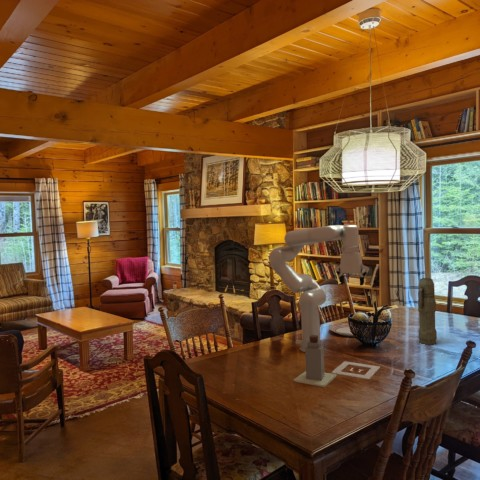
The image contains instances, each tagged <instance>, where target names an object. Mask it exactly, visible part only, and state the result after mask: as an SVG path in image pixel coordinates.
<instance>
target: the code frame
mask: <svg viewBox="0 0 480 480" xmlns="http://www.w3.org/2000/svg"><path fill="white" fill-rule="evenodd" d="M348 366H354V367H359V369H358V373H361V372H362V371H363V372H364V371H365V370H364V369H361V368H367V369H369V370H368V371H367V372H366V373H365V374H358V373H354V367H350V368H351V369H349V372H347V371H343V370H344V369H345V368H347V367H348ZM380 368H381V366H378V365H374V364H373V365H371V364H365V363H360V362H359V363H358V362H351V361H343V362H342V363H340V364H339V365H338V366H337V367H336V368H334V370H332V371H331V374H337V375H339V376H347V377H352V378H358V379H363V380H370V379H371V378H372V377H373V376H374V375H375V374H376V373H377V372H378V371H379V369H380ZM351 372H352V373H351Z"/></svg>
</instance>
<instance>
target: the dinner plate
mask: <svg viewBox="0 0 480 480" xmlns="http://www.w3.org/2000/svg"><path fill="white" fill-rule="evenodd" d="M348 323H349V322H346V323H345V322H344V323H337V324H333V325H332V324H331V325H330V327H329V328H328V329H329V330H330V331H332V332H334V333H336V334H338V335H340V336H345V337H354V336H353V334H352V333H351V332H350V329H349V325H348Z"/></svg>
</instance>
